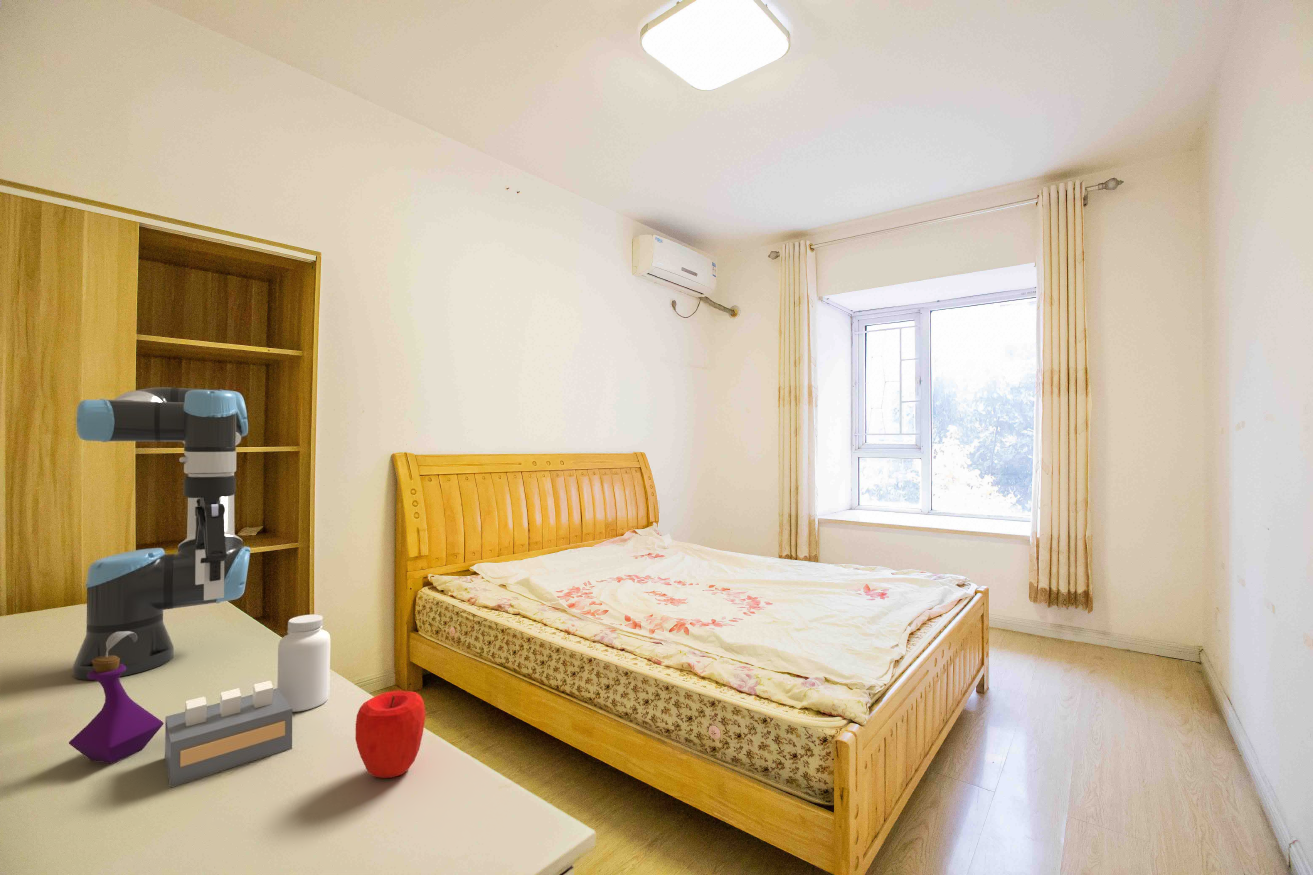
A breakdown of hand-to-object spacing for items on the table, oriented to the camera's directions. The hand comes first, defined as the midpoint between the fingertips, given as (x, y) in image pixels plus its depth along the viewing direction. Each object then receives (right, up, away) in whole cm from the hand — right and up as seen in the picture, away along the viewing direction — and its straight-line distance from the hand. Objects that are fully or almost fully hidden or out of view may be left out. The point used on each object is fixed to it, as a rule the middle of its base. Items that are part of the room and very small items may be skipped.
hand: (209, 590), depth 103 cm
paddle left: (+15, -13, -22) cm, 30 cm away
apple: (+45, -19, -24) cm, 54 cm away
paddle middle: (+18, -13, -19) cm, 29 cm away
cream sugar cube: (+21, -13, -16) cm, 30 cm away
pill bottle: (+19, -19, -3) cm, 27 cm away
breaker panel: (+18, -19, -19) cm, 33 cm away
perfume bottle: (+2, -19, -20) cm, 28 cm away
